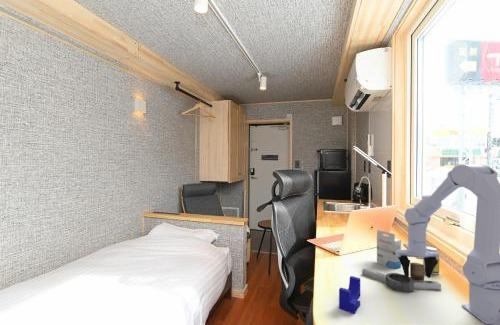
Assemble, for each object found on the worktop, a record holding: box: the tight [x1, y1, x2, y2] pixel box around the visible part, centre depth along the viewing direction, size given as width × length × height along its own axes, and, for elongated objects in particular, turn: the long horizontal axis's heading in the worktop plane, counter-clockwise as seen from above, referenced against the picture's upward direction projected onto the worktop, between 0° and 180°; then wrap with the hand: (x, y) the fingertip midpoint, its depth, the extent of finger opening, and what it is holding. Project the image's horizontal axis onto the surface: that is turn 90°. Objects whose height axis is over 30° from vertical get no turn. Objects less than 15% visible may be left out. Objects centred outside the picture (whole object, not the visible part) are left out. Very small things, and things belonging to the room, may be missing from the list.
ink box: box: [376, 229, 402, 270], centre depth 111 cm, size 8×5×15 cm, turn 29°
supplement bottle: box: [422, 246, 440, 276], centre depth 104 cm, size 5×5×10 cm
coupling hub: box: [409, 262, 425, 280], centre depth 96 cm, size 5×4×6 cm
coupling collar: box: [361, 267, 442, 294], centre depth 93 cm, size 14×23×3 cm, turn 84°
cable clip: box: [338, 275, 361, 315], centre depth 80 cm, size 12×4×6 cm, turn 142°
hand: (417, 276), depth 96 cm, fingers open, 7 cm apart
